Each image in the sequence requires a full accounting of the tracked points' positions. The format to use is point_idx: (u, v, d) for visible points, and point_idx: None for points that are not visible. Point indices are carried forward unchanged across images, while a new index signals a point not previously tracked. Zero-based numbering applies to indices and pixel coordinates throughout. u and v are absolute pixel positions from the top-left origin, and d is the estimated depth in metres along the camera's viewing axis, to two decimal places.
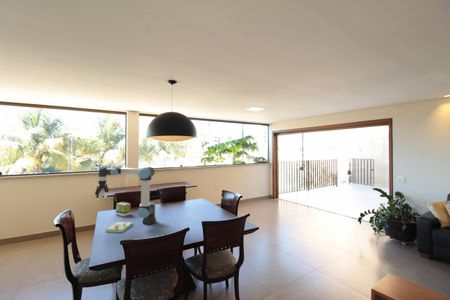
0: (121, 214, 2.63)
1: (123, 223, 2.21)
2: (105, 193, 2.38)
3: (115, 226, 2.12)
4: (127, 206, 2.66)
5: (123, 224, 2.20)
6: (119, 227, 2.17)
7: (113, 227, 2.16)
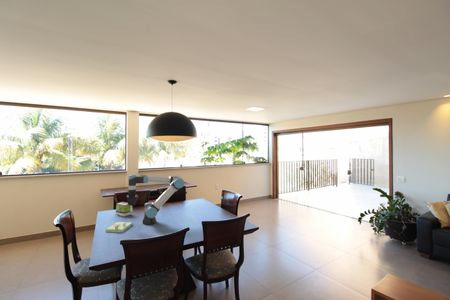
0: (121, 214, 2.63)
1: (123, 223, 2.21)
2: None
3: (115, 226, 2.12)
4: (127, 206, 2.66)
5: (123, 224, 2.20)
6: (119, 227, 2.17)
7: (113, 227, 2.16)
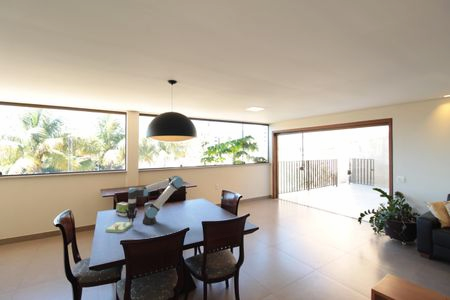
0: (121, 214, 2.63)
1: (123, 223, 2.21)
2: None
3: (115, 226, 2.12)
4: (127, 206, 2.66)
5: (123, 224, 2.20)
6: (119, 227, 2.17)
7: (113, 227, 2.16)
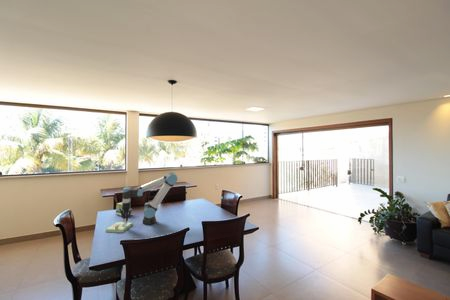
0: None
1: (122, 223, 2.21)
2: None
3: (115, 226, 2.12)
4: None
5: (122, 224, 2.20)
6: (119, 227, 2.17)
7: (113, 227, 2.16)
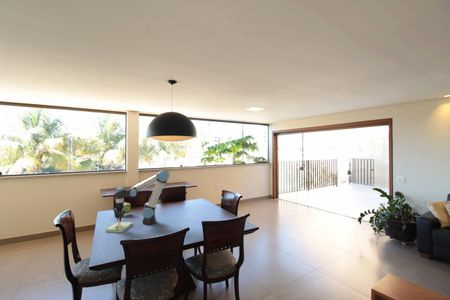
0: None
1: None
2: None
3: (115, 226, 2.12)
4: (127, 206, 2.66)
5: None
6: (119, 227, 2.17)
7: (113, 227, 2.16)
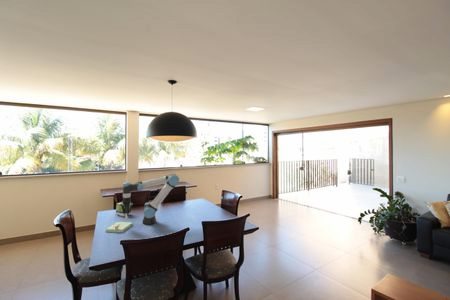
0: (121, 214, 2.63)
1: None
2: None
3: (115, 226, 2.12)
4: None
5: None
6: (119, 227, 2.17)
7: (113, 227, 2.16)
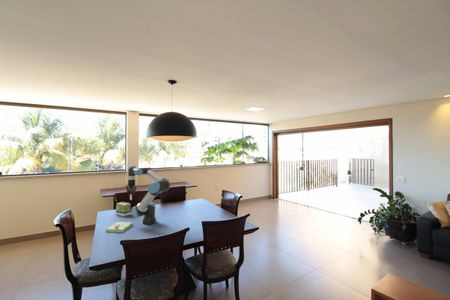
0: (121, 214, 2.63)
1: None
2: None
3: (115, 226, 2.12)
4: (127, 206, 2.66)
5: None
6: (119, 227, 2.17)
7: (113, 227, 2.16)
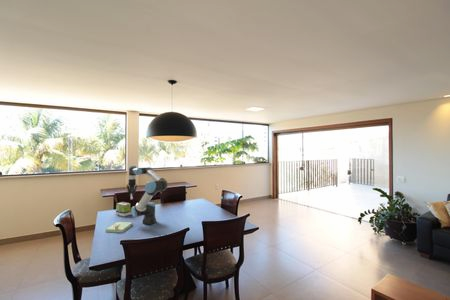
0: (121, 214, 2.63)
1: None
2: None
3: (115, 226, 2.12)
4: (127, 206, 2.66)
5: None
6: (119, 227, 2.17)
7: (113, 227, 2.16)
